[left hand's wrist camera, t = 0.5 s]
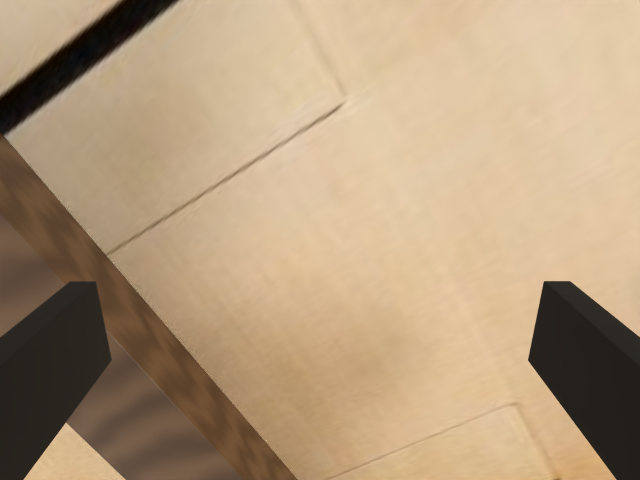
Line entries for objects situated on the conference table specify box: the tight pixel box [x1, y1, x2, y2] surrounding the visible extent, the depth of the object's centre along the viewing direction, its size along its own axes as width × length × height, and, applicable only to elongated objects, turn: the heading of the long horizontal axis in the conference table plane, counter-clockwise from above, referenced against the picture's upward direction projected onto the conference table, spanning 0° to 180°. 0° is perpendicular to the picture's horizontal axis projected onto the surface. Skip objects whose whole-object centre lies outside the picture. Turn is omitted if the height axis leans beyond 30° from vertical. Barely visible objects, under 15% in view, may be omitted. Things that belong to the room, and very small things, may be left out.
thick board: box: [0, 132, 297, 480], centre depth 41 cm, size 61×10×7 cm, turn 32°
